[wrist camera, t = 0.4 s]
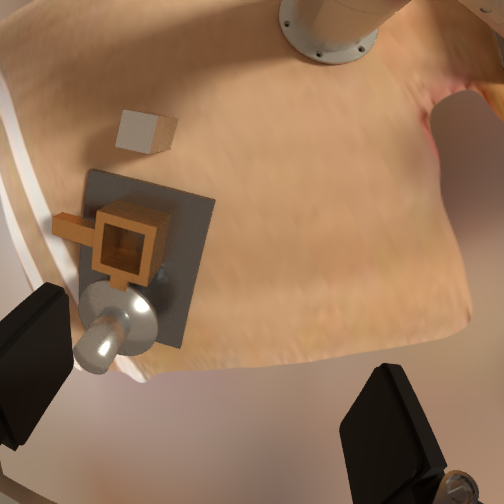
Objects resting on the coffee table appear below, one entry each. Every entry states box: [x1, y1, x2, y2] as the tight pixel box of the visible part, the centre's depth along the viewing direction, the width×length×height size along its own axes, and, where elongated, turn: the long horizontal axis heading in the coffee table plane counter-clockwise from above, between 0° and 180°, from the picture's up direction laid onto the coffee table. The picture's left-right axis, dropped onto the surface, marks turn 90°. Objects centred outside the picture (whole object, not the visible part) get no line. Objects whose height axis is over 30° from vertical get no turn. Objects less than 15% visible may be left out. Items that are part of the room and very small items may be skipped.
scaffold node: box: [52, 169, 216, 375], centre depth 37 cm, size 24×20×15 cm
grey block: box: [115, 109, 178, 154], centre depth 34 cm, size 4×4×9 cm
